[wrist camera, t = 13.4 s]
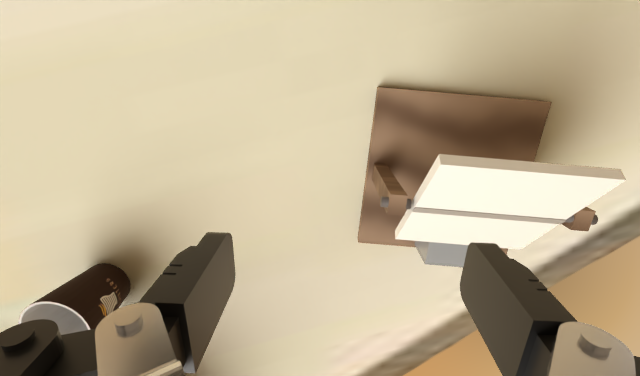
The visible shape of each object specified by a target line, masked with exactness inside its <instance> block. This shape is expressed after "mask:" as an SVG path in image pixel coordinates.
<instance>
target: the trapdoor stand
mask: <svg viewBox="0 0 640 376" xmlns="http://www.w3.org/2000/svg"><path fill="white" fill-rule="evenodd" d="M550 105H551V102H547V101H536V100H524V99H512V98H501V97H489V96H477V95H465V94H454V93H442V92H430V91H418V90H407V89H395V88H383V87H377V94H376V102H375V109H374V117H373V125H372V132H371V140H370V148H369V155H368V163H367V171H366V178H365V186H364V194H363V201H362V209H361V217H360V224H359V232H358V242H360V243H372V244H384V245H396V246H408V247H416V246H415V241H412V240H400V239H395V230H396V228H397V226H398V225H399V223H400V221H401V219H402V218H403V216H404V215H405V212H406V211H407V209H411V204H412V200H413V198H414V197H415V195H416V193H417V191H418V190H419V188H420V186H421V184H422V183H423V181H424V179H425V177H426V176H427V174H428V172H429V170H430V169H431V167H432V165H433V163H434V162H435V160H436V158H437V156H438V155H439V154H446V155H458V156H470V157H482V158H493V159H505V160H517V161H529V162H534V160H535V156H536V153H537V149H538V146H539V143H540V139H541V136H542V132H543V129H544V126H545V122H546V119H547V116H548V112H549V109H550ZM595 212H596V211H594V210H592V209H590V208H588V207H585V208H583V209H581V210H580V211H578V212H577V213H575V214H574V215H572V216H571V217H569V218H568V219H566V220H567V221H565V222H564V223H562V224H563V225H564V226H566V227H567V228H569V229H571V230H579V231H588V230H589V228H590V225H595V224H596V223H597V221H598V217H597V216H596V215H595ZM501 249H502V251H503V252H504V253H505V254H507V251H508V248H501Z"/></svg>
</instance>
